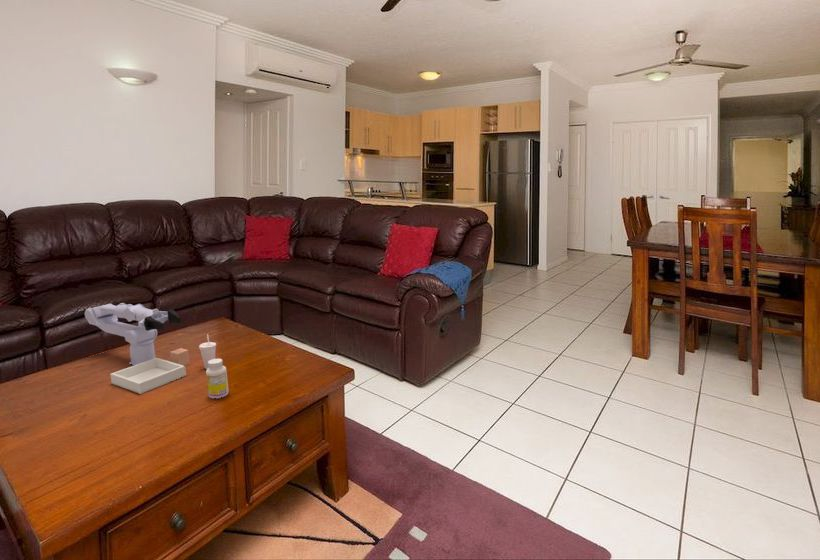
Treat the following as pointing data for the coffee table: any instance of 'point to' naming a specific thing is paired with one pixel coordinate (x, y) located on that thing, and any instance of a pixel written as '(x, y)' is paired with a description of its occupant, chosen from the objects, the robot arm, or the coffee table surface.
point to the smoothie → (207, 351)
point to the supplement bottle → (216, 379)
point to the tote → (148, 375)
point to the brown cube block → (180, 356)
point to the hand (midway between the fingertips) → (171, 322)
